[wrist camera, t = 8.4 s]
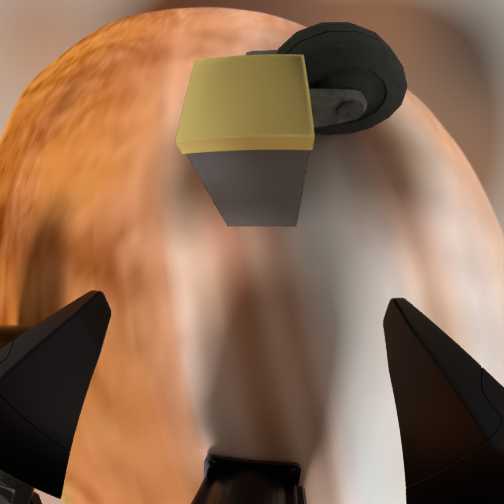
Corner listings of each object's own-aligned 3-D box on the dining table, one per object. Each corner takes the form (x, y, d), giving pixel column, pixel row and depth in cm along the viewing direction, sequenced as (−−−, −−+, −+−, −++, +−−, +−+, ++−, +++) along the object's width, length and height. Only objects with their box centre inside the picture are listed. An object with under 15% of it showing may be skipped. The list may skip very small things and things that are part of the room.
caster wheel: (364, 105, 21) (194, 105, 21) (402, 25, 12) (173, 12, 11) (382, 156, 20) (192, 160, 19) (440, 77, 10) (159, 59, 10)
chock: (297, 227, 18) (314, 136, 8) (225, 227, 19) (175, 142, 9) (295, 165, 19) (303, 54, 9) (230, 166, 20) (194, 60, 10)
